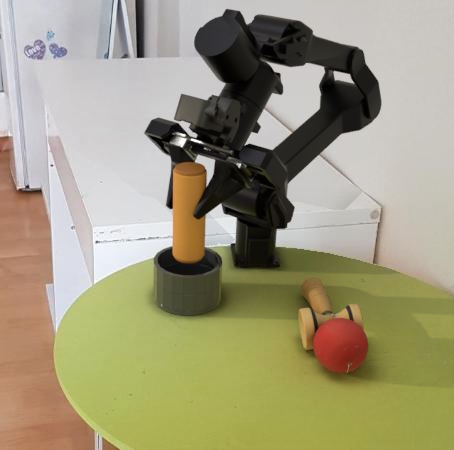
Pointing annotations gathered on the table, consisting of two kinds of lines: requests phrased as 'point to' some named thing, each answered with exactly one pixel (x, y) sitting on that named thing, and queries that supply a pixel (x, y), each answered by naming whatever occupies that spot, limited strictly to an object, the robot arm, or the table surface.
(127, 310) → the table surface
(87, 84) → the table surface
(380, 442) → the table surface
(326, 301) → the kendama
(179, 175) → the orange tall cylinder
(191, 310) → the pot
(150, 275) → the table surface
